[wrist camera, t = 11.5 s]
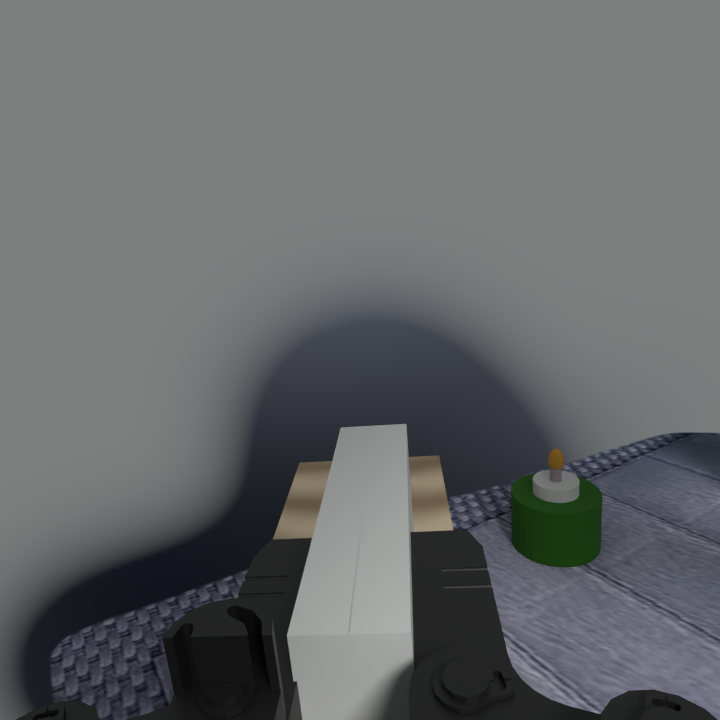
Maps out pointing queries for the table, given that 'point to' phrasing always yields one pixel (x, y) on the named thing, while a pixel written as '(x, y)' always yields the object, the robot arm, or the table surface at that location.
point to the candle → (556, 516)
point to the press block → (312, 482)
